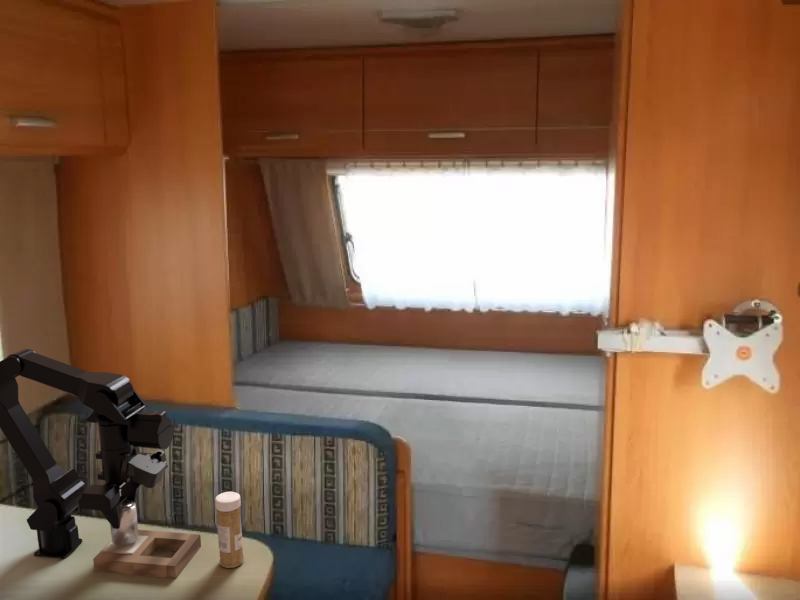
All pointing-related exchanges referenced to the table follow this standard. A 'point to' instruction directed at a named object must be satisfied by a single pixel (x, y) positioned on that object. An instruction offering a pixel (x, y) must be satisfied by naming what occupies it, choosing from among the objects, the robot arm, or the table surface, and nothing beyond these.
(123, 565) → the block
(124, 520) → the plug
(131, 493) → the robot arm
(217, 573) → the table surface
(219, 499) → the sprinkles bottle
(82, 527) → the table surface
